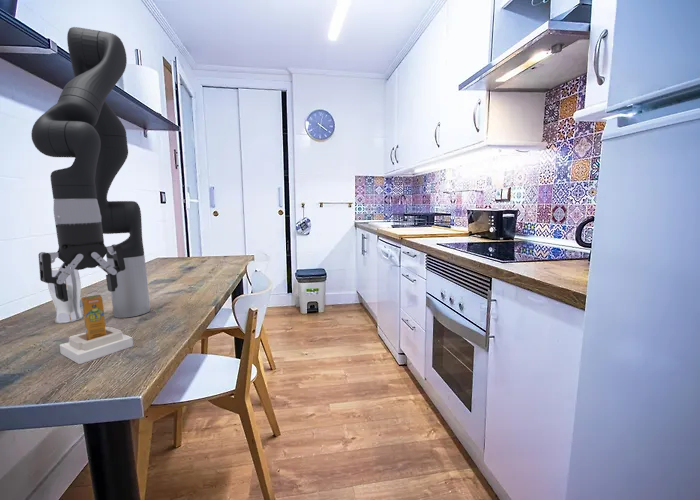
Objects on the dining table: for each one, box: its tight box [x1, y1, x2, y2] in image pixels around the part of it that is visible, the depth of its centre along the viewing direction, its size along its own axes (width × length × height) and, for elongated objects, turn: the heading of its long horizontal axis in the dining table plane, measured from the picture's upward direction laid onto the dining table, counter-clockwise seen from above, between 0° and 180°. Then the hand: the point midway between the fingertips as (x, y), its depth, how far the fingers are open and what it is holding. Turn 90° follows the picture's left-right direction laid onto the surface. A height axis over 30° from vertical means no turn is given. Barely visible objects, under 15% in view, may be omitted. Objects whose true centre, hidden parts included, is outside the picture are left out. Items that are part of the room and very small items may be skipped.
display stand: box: [59, 326, 134, 365], centre depth 73 cm, size 10×10×4 cm
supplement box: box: [81, 294, 106, 341], centre depth 72 cm, size 3×3×10 cm
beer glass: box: [47, 266, 84, 325], centre depth 93 cm, size 7×7×15 cm
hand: (89, 295), depth 72 cm, fingers open, 8 cm apart
